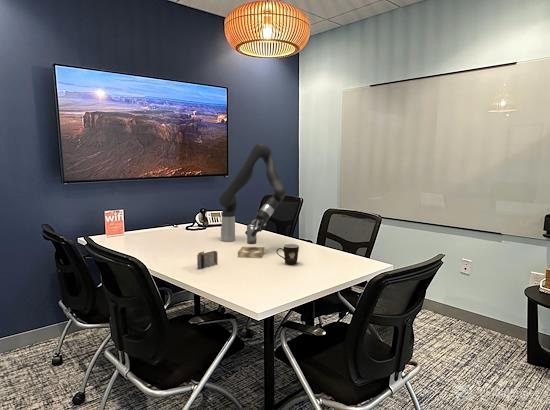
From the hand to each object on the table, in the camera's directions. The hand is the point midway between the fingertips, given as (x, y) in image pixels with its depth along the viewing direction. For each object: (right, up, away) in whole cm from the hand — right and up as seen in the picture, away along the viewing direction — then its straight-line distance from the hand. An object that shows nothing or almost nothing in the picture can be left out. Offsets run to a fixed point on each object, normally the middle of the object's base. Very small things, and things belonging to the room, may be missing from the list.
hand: (249, 235), depth 219 cm
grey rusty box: (-21, -16, -22) cm, 34 cm away
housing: (+1, -5, +2) cm, 5 cm away
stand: (+1, -12, +3) cm, 12 cm away
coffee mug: (+23, -15, -15) cm, 31 cm away
